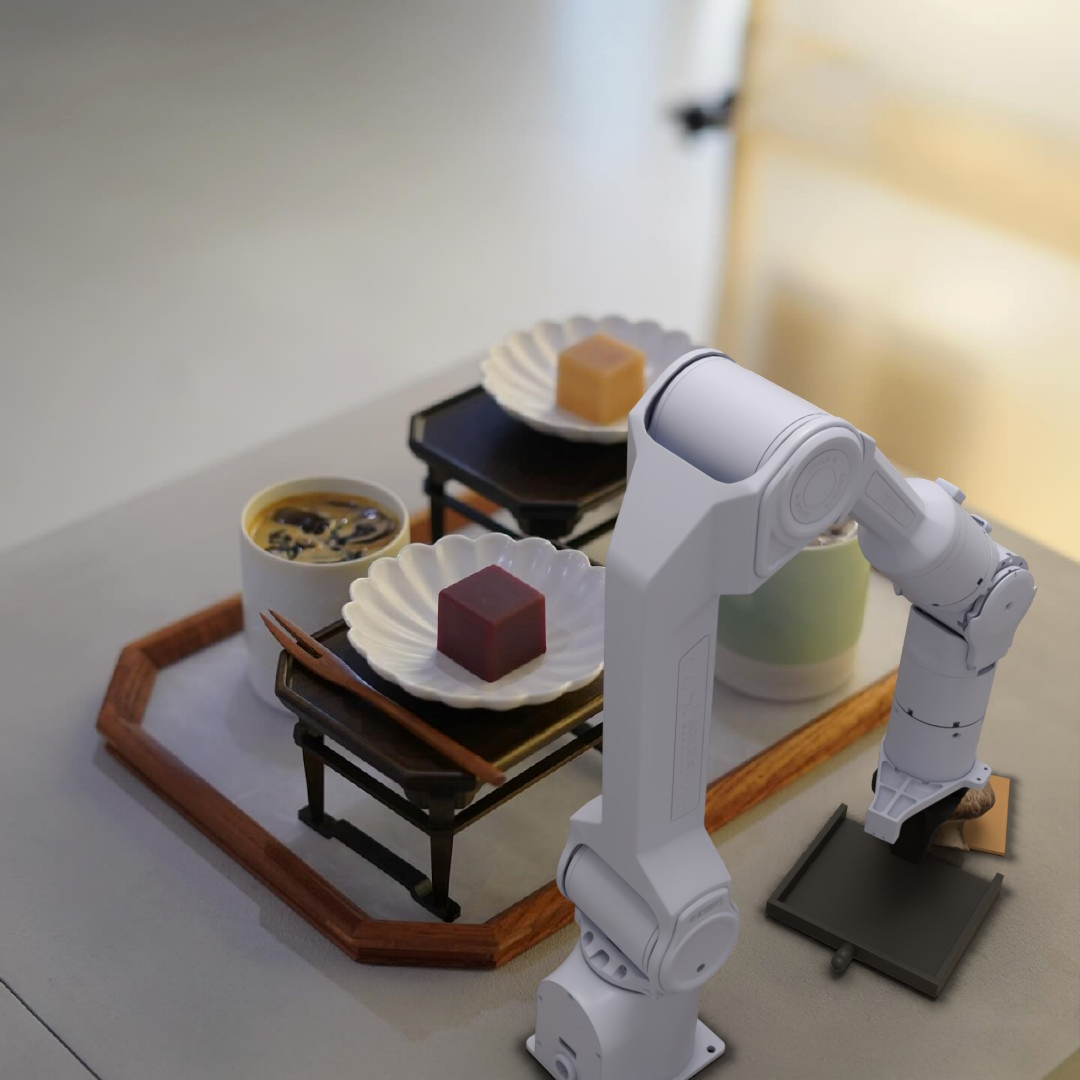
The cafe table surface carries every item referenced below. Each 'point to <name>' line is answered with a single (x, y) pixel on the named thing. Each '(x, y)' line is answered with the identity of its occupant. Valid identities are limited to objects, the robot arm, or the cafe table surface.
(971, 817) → the mushroom
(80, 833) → the cafe table surface
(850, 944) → the pan
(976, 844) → the mat
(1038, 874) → the cafe table surface
